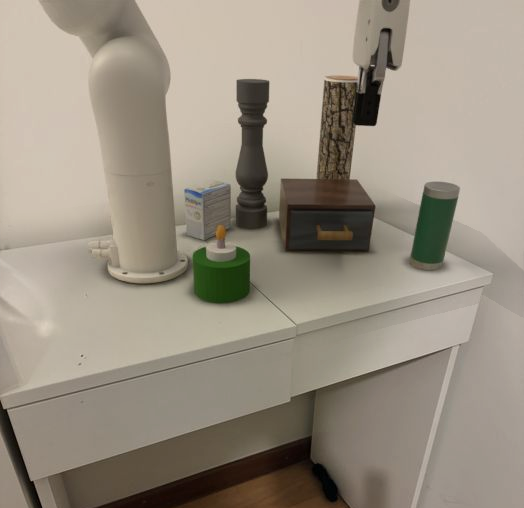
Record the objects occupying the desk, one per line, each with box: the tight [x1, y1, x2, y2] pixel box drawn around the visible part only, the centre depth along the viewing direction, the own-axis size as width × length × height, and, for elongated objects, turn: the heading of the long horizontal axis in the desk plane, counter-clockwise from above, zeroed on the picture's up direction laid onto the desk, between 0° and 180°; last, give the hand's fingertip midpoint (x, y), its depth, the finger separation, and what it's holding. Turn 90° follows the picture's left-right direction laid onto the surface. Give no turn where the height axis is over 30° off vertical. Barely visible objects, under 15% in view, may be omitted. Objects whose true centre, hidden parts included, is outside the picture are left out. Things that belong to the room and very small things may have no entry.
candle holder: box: [235, 78, 270, 230], centre depth 95 cm, size 6×6×25 cm
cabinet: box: [278, 178, 376, 253], centre depth 95 cm, size 16×15×8 cm
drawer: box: [289, 209, 373, 249], centre depth 91 cm, size 20×14×6 cm
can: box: [409, 181, 461, 271], centre depth 83 cm, size 5×5×13 cm
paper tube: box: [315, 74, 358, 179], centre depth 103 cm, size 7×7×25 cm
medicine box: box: [183, 179, 232, 241], centre depth 94 cm, size 8×4×9 cm, turn 144°
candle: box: [191, 225, 251, 304], centre depth 74 cm, size 8×8×10 cm
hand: (363, 124), depth 73 cm, fingers closed
